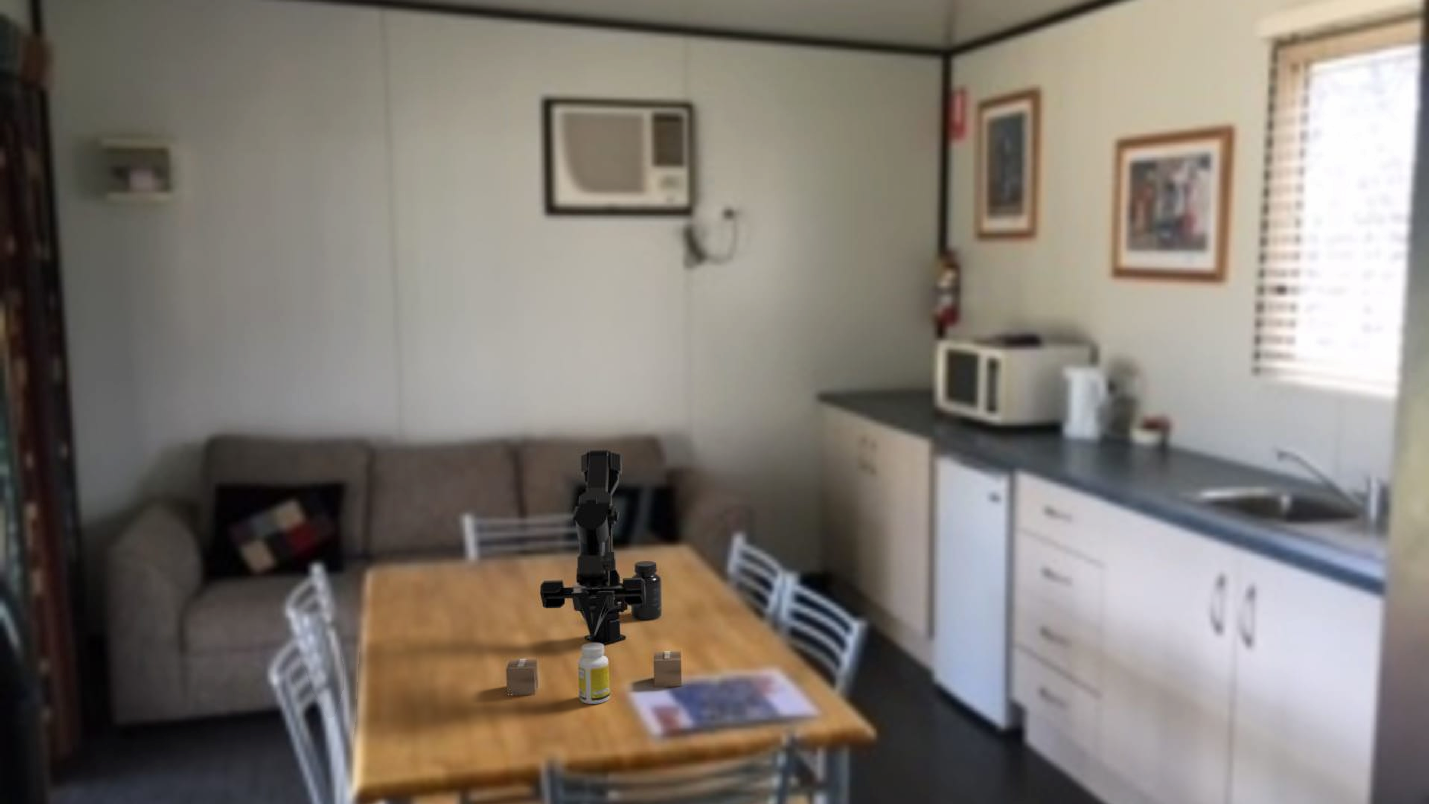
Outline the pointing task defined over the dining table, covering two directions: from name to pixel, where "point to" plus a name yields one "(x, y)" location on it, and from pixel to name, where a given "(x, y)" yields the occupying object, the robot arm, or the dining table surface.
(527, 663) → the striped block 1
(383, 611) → the dining table surface
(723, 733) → the dining table surface
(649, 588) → the supplement bottle
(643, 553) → the dining table surface
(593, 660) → the supplement bottle
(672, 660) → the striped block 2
